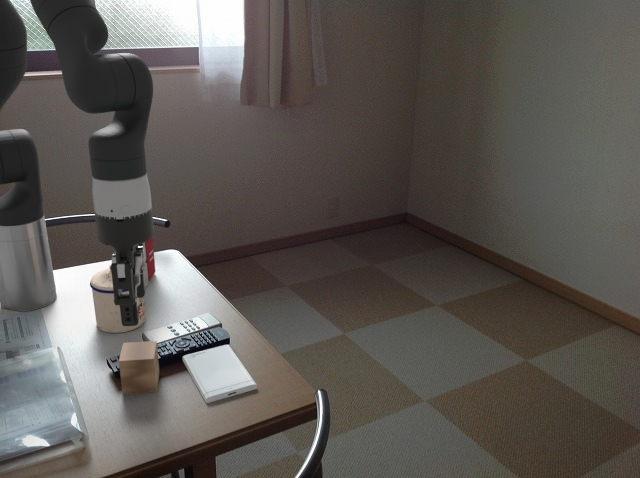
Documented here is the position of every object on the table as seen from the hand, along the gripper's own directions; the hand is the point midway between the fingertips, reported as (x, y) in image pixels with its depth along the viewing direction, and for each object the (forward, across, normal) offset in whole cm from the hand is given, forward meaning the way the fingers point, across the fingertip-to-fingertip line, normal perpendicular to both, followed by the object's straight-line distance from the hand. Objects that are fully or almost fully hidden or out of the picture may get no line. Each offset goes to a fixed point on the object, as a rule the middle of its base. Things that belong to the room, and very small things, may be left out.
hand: (134, 310), depth 87 cm
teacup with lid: (+13, -21, -6) cm, 26 cm away
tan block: (+13, 0, 0) cm, 13 cm away
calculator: (+13, -35, -4) cm, 38 cm away
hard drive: (+14, -1, +12) cm, 18 cm away
